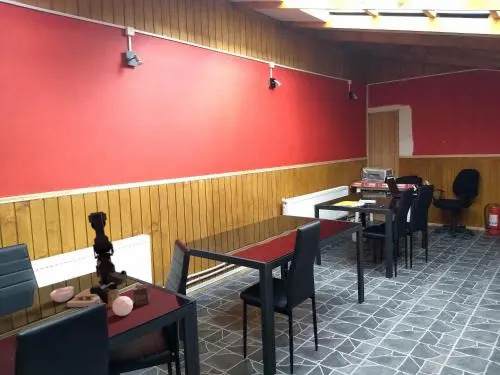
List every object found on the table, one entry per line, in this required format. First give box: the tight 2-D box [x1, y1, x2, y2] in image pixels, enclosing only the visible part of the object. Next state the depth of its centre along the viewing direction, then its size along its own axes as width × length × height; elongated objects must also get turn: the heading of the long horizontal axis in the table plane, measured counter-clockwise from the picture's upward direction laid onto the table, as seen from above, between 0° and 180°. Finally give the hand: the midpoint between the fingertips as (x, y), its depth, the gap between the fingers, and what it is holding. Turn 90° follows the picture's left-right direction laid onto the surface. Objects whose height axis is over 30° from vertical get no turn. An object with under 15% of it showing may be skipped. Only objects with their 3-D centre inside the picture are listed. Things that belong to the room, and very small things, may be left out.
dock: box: [66, 296, 101, 308], centre depth 193 cm, size 16×14×2 cm
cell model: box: [49, 285, 75, 303], centre depth 196 cm, size 10×12×7 cm
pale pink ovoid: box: [112, 295, 135, 317], centre depth 172 cm, size 8×8×12 cm
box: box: [132, 283, 152, 306], centre depth 182 cm, size 6×6×7 cm
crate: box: [99, 288, 121, 308], centre depth 183 cm, size 6×6×6 cm
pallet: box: [73, 287, 98, 300], centre depth 193 cm, size 10×10×2 cm
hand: (110, 302), depth 184 cm, fingers closed on crate, 6 cm apart
